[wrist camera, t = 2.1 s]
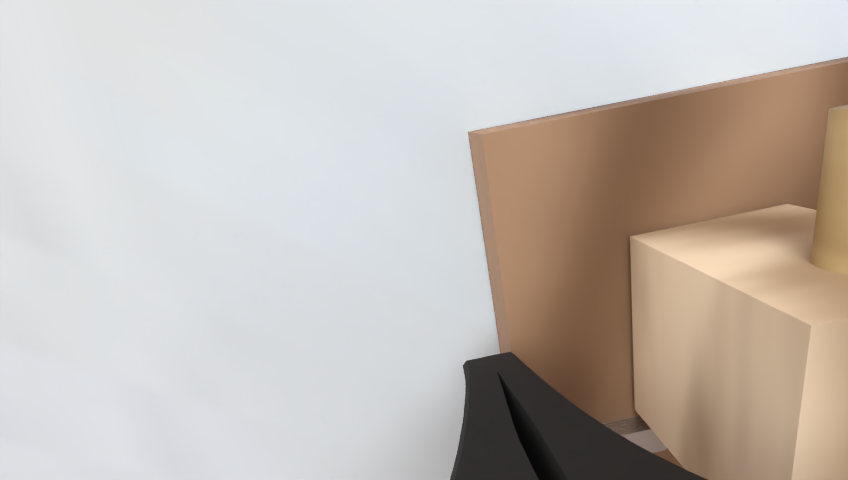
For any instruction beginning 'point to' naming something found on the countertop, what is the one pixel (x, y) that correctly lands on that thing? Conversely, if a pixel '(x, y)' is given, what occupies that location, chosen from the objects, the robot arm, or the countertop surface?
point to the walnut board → (631, 209)
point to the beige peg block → (750, 335)
